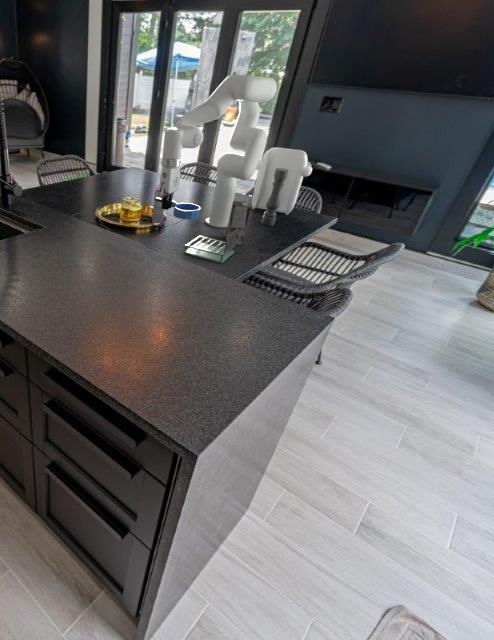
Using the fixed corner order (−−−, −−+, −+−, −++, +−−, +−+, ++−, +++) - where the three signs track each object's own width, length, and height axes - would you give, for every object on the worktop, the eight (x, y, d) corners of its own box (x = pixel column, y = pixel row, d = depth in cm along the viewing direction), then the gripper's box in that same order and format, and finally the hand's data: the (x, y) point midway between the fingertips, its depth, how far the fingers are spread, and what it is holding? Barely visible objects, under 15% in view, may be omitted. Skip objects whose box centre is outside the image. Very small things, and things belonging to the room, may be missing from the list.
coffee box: (242, 245, 173) (251, 207, 163) (226, 243, 173) (235, 206, 164) (239, 237, 180) (248, 201, 171) (224, 236, 181) (232, 200, 172)
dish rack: (198, 243, 173) (202, 219, 167) (234, 252, 166) (239, 227, 160) (183, 253, 164) (187, 228, 158) (221, 263, 156) (227, 237, 150)
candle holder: (274, 222, 199) (289, 169, 184) (273, 226, 194) (289, 171, 180) (261, 220, 201) (275, 167, 186) (260, 224, 196) (274, 170, 182)
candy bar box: (153, 218, 199) (156, 184, 190) (163, 219, 199) (167, 184, 189) (151, 225, 190) (154, 190, 181) (161, 226, 190) (165, 190, 180)
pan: (160, 205, 179) (161, 195, 177) (203, 214, 170) (204, 203, 167) (148, 211, 172) (149, 200, 170) (192, 221, 163) (194, 209, 160)
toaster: (300, 211, 215) (319, 150, 198) (296, 217, 207) (315, 154, 190) (248, 202, 226) (262, 144, 209) (243, 207, 219) (257, 147, 201)
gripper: (170, 167, 155) (165, 214, 166) (188, 160, 165) (182, 205, 176) (153, 164, 158) (149, 211, 169) (171, 158, 169) (167, 202, 180)
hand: (166, 208), depth 172 cm, fingers closed on pan
